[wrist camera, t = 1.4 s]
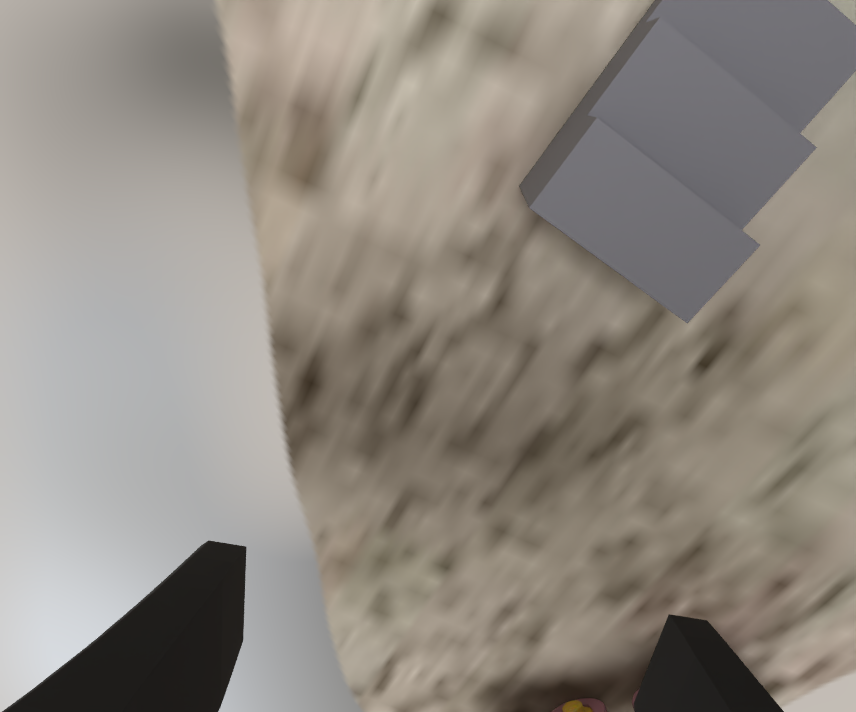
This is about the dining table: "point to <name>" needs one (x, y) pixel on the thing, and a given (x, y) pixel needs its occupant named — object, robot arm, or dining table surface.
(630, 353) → the dining table surface
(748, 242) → the grey stepped block
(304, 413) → the dining table surface
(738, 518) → the dining table surface
